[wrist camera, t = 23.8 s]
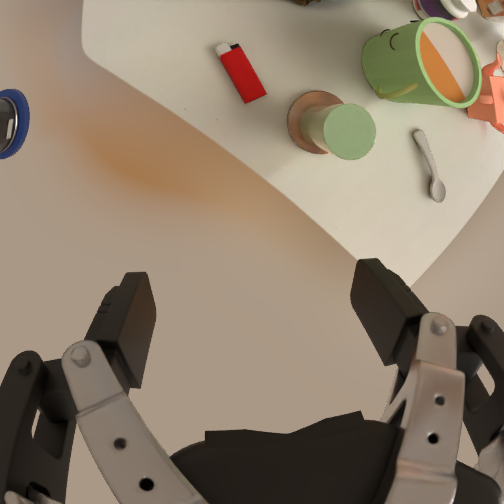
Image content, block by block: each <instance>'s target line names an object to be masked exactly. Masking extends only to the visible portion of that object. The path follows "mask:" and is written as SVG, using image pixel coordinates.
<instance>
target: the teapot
mask: <svg viewBox="0 0 504 504" xmlns="http://www.w3.org/2000/svg"><path fill="white" fill-rule="evenodd" d="M500 65H501V57H500V54H499V53H498V52H497V57H496V60H495V61H494V62H493V63H491V64H488V65H486V66H484V67H483V68H482V70H481V74H482V83H481V89H480V93H479V95H478V97H477V99H476V101H475V102H474V103H473V104H472V105H470V106H468V107H467V110H468V116H469V118H474V119H479V120H483V121H488V122H490V124H491V125H492V126H493V127H494V128H495V129H497V130H498V131H500V132H502V133H503V134H504V126H503V124H502V123H504V77H499V76H493V72H494V70H495V69H497V68H499V67H500Z"/></svg>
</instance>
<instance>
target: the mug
mask: <svg viewBox="0 0 504 504" xmlns="http://www.w3.org/2000/svg"><path fill="white" fill-rule="evenodd" d="M410 22H414V23H411V24H407V25H404V26H402V27H399V28H396V29H393V30H390V29H387V30H390V31H388V32H385V31H387V30H384V31H383V32H385V33H383V32H382V33H381V34H380V35H377V36H375V37H373V38H371V39H370V40H369V41H368V42H367V43H366V44H365V46H364V49H363V52H362V67H363V71H364V74H365V76H366V78H367V80H368V82H369V83H370V85H371V86H372V88H373V89H374V90H375V91H376V95H377V96H378V97H379V98H382V99H388V100H390V101H393V102H401V103H417V104H429V105H439V106H447V107H455V108H466V107H468V106H470V105H472V104H473V103H474V102H475V101H476V99H477V97H478V95H479V93H480V89H481V83H482V74H481V67H480V62H479V59H478V56H477V53H476V51H475V49H474V47H473V45H472V43H471V42H470V40H469V39H468V38H467V36H466V35H465V34H464V33H463V32H462V30H461V29H459V28H458V27H457V26H456V25H455V24H453V23H452V22H450V21H448V20H446V19H444V18H439V17H430V18H427V19H423V20H416V21H410Z"/></svg>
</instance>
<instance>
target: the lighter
mask: <svg viewBox="0 0 504 504" xmlns="http://www.w3.org/2000/svg"><path fill="white" fill-rule="evenodd" d="M214 50H215V52H216V54H217V55H218V57H219V59H220V60H221V62H222V64H223V66H224V67H225V69H226V71H227V72H228V74H229V76H230V78H231V79H232V81H233V83H234V85H235V87H236V88H237V90H238V92H239V94H240V95H241V97H242V99H243V101H244V103H245V104H246V103H248V102H251V101H253V100H255V99H257V98H259V97H261V96H264V95H266V94H267V93H266V91H265V89H264V88H263V86H262V84H261V82H260V80H259V78H258V77H257V75H256V73H255V71H254V69H253V68H252V66H251V64H250V62H249V61H248V59H247V57H246V55H245V54H244V52H243V50H242V49H241V47H240V46H239V44H235V45H232V46H230V43H229V42H225V43H223V44H221V45H219V46H217V47H215V48H214Z"/></svg>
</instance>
